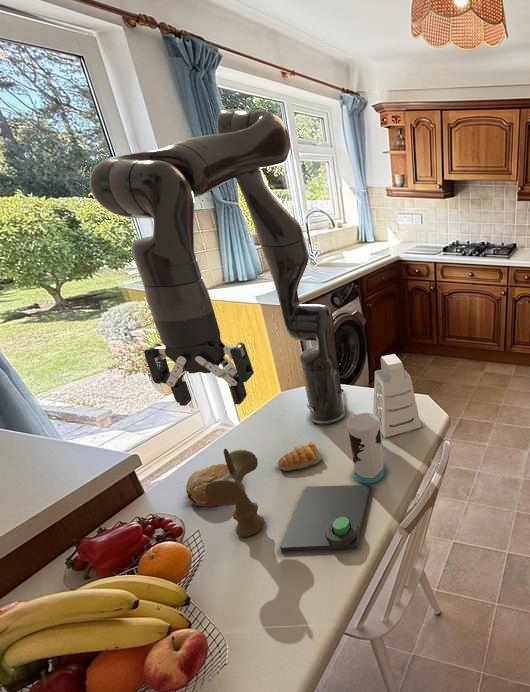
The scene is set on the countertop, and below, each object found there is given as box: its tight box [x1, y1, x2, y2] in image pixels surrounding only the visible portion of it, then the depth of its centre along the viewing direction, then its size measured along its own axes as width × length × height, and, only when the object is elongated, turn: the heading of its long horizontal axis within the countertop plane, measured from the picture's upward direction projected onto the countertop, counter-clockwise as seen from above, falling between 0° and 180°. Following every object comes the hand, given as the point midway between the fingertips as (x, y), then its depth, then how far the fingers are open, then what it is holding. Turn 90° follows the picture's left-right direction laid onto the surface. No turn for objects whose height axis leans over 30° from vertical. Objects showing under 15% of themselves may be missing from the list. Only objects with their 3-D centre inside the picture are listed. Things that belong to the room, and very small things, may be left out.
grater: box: [372, 353, 422, 438], centre depth 111 cm, size 10×10×20 cm
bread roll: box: [185, 463, 227, 508], centre depth 89 cm, size 10×10×8 cm
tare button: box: [333, 517, 350, 536], centre depth 78 cm, size 3×3×2 cm
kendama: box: [205, 448, 265, 538], centre depth 77 cm, size 6×10×20 cm, turn 8°
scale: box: [279, 484, 372, 553], centre depth 83 cm, size 16×14×3 cm
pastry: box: [277, 441, 322, 472], centre depth 98 cm, size 9×7×4 cm
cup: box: [346, 412, 385, 485], centre depth 93 cm, size 7×7×15 cm
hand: (213, 402), depth 68 cm, fingers open, 8 cm apart
